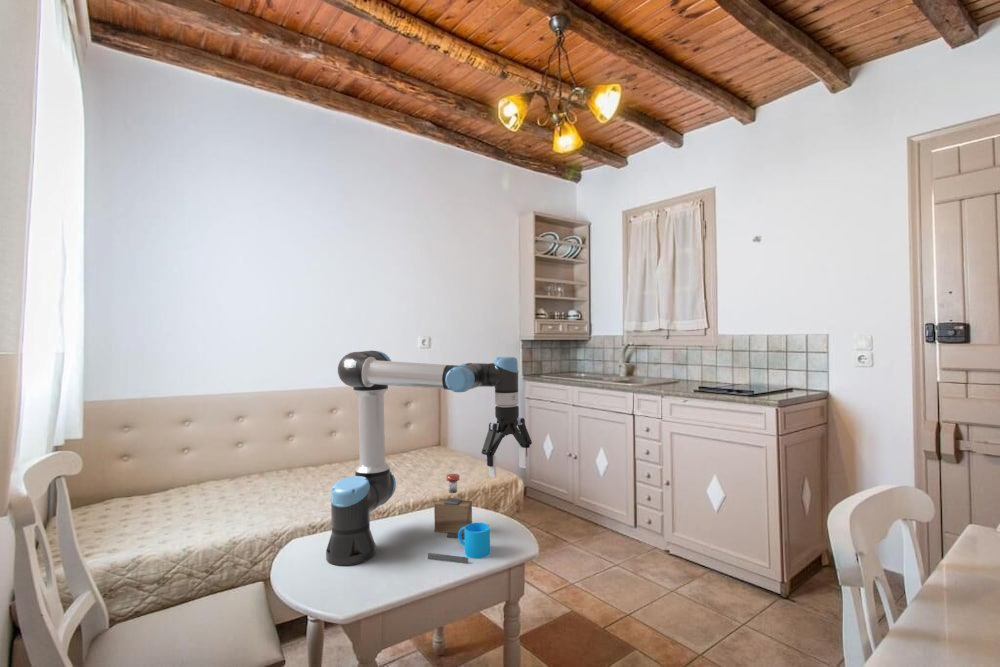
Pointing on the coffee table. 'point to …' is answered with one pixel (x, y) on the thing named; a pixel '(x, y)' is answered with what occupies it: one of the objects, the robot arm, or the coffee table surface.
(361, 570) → the coffee table surface
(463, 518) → the end cabinet
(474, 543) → the mug
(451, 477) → the red rounded piece
